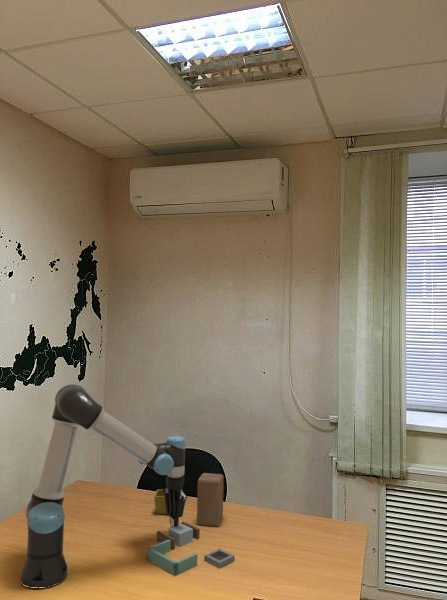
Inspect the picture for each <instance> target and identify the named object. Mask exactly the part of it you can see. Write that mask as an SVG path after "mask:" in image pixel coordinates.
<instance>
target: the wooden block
mask: <svg viewBox="0 0 447 600" xmlns="http://www.w3.org/2000/svg"><path fill="white" fill-rule="evenodd" d="M196 502H197V503H196V504H197V505H196V524H197V526H198V525H200V526H207V527H208V526H209V527H216V528H217V527H219V526H220V524H221V521H222V520H223V517H224V475H223V474H221V473H210V472H209V473H208V472H203V473H202V474H201V475H200V476H199V478H198V479H197V499H196Z"/></svg>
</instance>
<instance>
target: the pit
mask: <svg viewBox="0 0 447 600" xmlns="http://www.w3.org/2000/svg"><path fill="white" fill-rule="evenodd" d="M235 558H236V557H235V555H234V554H232V553H230V552H228V551H226V550H224V549H222V548H217V549H215V550H213V551H210V552H208V553H206V554H204V562H206V563H208V564H209V565H212V566H214V567H216V568H218V569H222V568H223V567H226V566H227V565H230V564H232V563H234V562H235Z"/></svg>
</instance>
